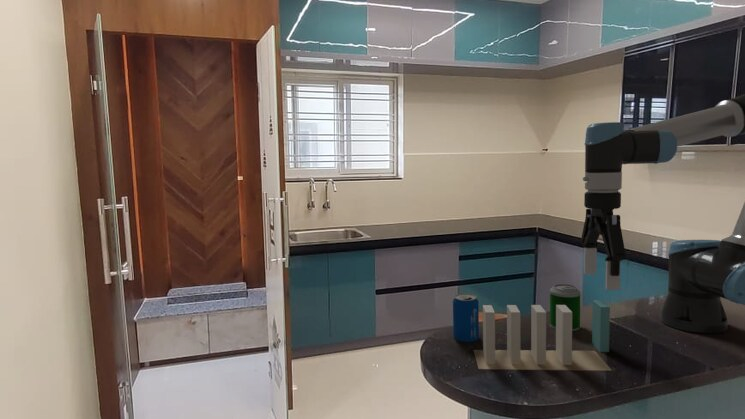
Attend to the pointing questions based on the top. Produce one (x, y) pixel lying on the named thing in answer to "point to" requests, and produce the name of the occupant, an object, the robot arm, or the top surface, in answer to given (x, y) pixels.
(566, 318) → the tile
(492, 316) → the tile
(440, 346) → the top surface
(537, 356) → the tile
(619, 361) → the top surface
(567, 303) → the soda can
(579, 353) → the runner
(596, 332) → the head tile
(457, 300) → the beverage can
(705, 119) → the robot arm
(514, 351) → the tile
